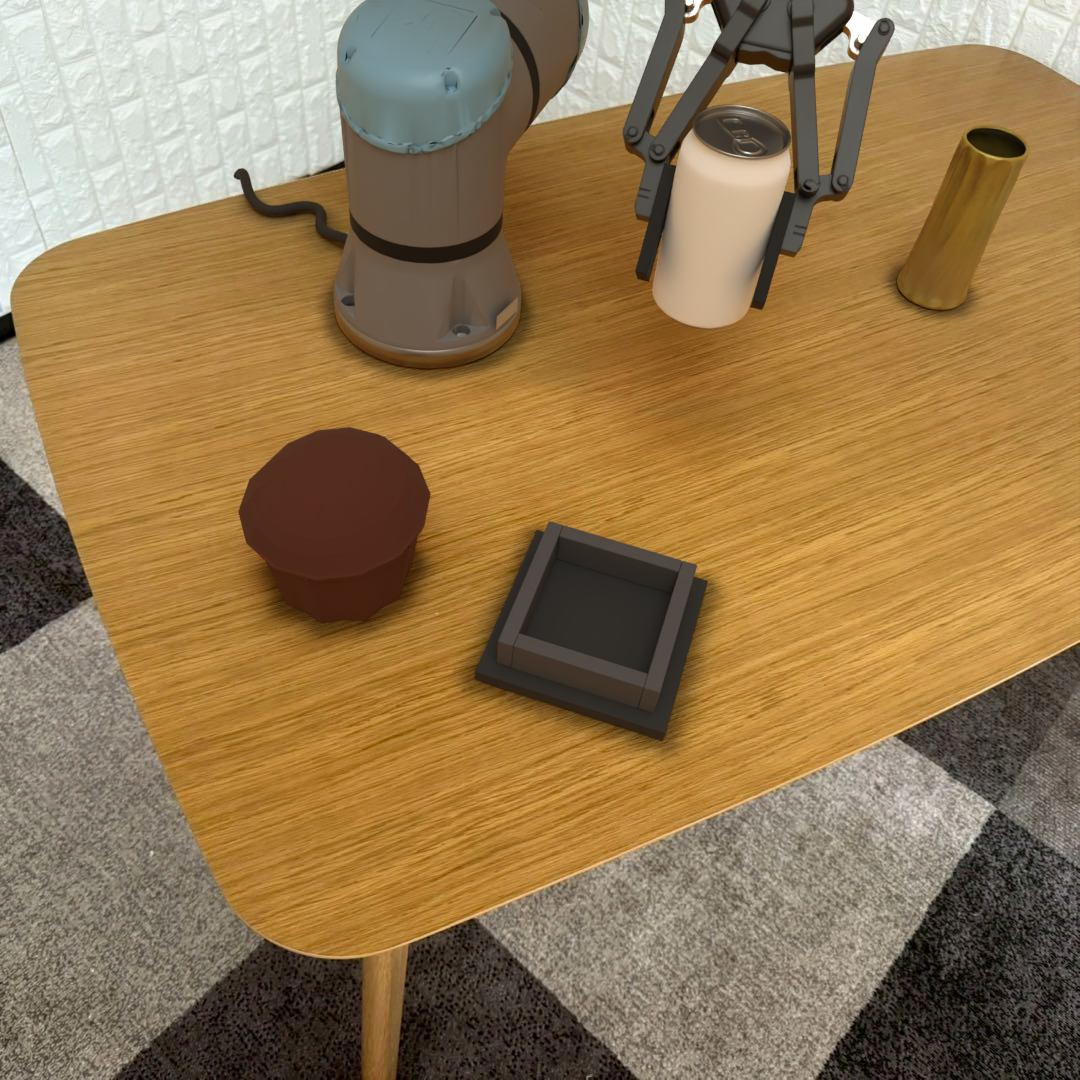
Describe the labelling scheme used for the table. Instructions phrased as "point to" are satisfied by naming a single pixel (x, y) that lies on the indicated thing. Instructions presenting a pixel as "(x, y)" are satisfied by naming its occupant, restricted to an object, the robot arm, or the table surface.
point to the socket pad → (596, 629)
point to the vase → (963, 217)
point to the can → (721, 215)
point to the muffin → (337, 521)
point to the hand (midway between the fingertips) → (699, 290)
